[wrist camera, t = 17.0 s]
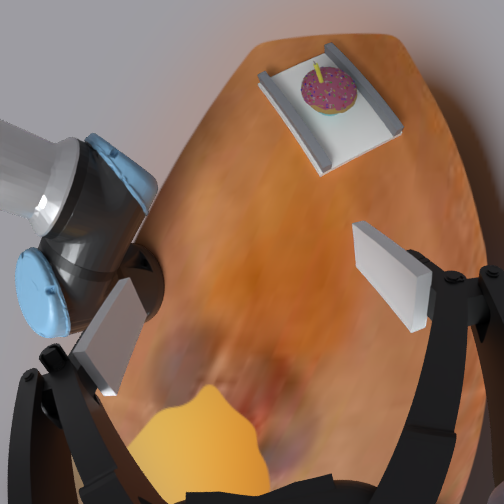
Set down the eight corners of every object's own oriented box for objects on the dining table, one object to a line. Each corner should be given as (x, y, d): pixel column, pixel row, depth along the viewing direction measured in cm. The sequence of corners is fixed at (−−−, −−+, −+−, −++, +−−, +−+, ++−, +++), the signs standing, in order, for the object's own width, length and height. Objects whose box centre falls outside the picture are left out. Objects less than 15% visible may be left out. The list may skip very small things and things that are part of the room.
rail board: (400, 135, 39) (406, 125, 35) (320, 176, 42) (320, 169, 38) (333, 53, 41) (333, 41, 38) (259, 87, 44) (254, 76, 41)
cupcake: (308, 129, 41) (304, 88, 29) (297, 87, 42) (289, 42, 30) (360, 122, 39) (371, 80, 28) (346, 80, 40) (350, 35, 28)
